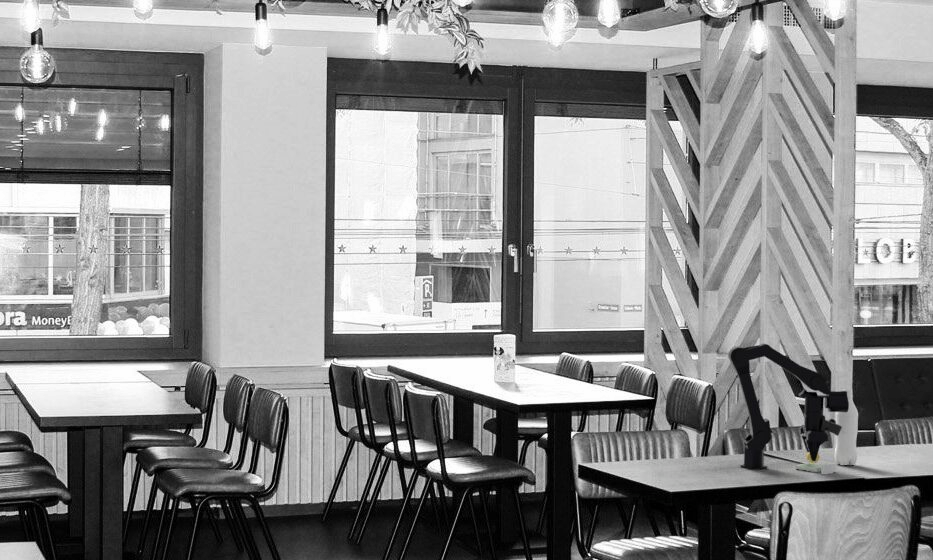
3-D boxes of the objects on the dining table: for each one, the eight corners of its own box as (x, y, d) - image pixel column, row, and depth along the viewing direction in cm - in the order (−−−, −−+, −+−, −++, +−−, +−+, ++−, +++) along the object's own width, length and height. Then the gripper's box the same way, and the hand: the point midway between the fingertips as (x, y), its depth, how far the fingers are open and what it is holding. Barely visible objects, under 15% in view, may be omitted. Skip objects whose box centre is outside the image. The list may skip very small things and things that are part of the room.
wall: (824, 474, 366) (824, 465, 366) (821, 474, 367) (821, 464, 367) (835, 472, 371) (835, 463, 371) (832, 472, 372) (833, 462, 372)
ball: (820, 464, 372) (820, 451, 372) (807, 463, 373) (807, 451, 373) (818, 462, 376) (818, 450, 376) (805, 461, 377) (805, 449, 377)
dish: (816, 472, 369) (817, 468, 369) (795, 469, 375) (795, 465, 375) (829, 470, 374) (829, 466, 374) (808, 467, 380) (808, 463, 380)
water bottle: (858, 467, 383) (860, 390, 383) (835, 466, 384) (837, 389, 384) (855, 463, 390) (857, 388, 390) (833, 462, 391) (835, 387, 391)
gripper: (845, 415, 364) (844, 465, 364) (834, 409, 383) (833, 456, 383) (808, 414, 366) (807, 464, 366) (799, 407, 384) (798, 455, 384)
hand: (812, 460), depth 375 cm, fingers closed on ball, 4 cm apart
